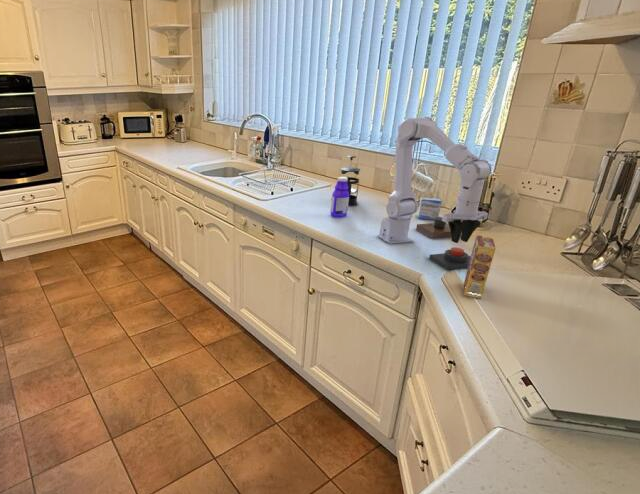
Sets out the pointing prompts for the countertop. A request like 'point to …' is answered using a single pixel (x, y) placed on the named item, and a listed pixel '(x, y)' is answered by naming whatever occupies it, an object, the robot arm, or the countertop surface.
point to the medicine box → (429, 208)
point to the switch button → (457, 251)
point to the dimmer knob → (439, 223)
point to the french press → (351, 182)
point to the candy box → (479, 265)
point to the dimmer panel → (434, 231)
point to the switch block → (451, 260)
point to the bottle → (340, 198)
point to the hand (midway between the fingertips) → (459, 241)
